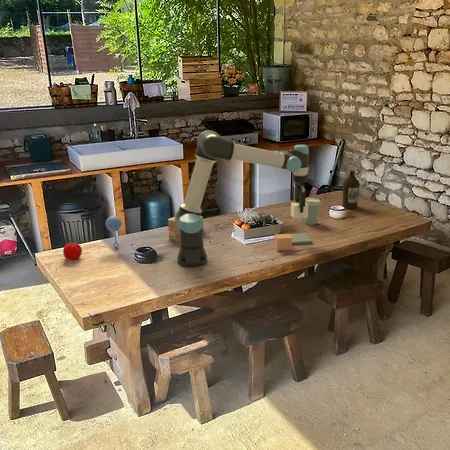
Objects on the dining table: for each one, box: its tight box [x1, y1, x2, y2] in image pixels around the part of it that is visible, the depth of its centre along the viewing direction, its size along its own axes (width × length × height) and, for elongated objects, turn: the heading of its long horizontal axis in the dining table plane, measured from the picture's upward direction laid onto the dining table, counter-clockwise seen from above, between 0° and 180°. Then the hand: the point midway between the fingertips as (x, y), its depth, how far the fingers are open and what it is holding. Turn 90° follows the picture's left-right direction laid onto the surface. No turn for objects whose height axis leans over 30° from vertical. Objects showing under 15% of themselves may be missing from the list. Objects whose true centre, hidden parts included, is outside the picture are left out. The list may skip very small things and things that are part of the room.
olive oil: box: [342, 169, 361, 210], centre depth 324 cm, size 11×11×25 cm
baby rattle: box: [105, 215, 123, 249], centre depth 266 cm, size 9×9×18 cm
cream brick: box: [290, 202, 308, 219], centre depth 269 cm, size 8×6×7 cm
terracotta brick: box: [274, 233, 293, 252], centre depth 263 cm, size 8×6×7 cm
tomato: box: [62, 242, 83, 261], centre depth 255 cm, size 9×10×8 cm
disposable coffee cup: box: [304, 197, 322, 225], centre depth 298 cm, size 11×11×15 cm
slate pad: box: [289, 232, 313, 246], centre depth 274 cm, size 12×12×2 cm
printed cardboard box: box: [167, 216, 204, 242], centre depth 283 cm, size 21×6×12 cm, turn 136°
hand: (299, 215), depth 270 cm, fingers closed on cream brick, 6 cm apart
